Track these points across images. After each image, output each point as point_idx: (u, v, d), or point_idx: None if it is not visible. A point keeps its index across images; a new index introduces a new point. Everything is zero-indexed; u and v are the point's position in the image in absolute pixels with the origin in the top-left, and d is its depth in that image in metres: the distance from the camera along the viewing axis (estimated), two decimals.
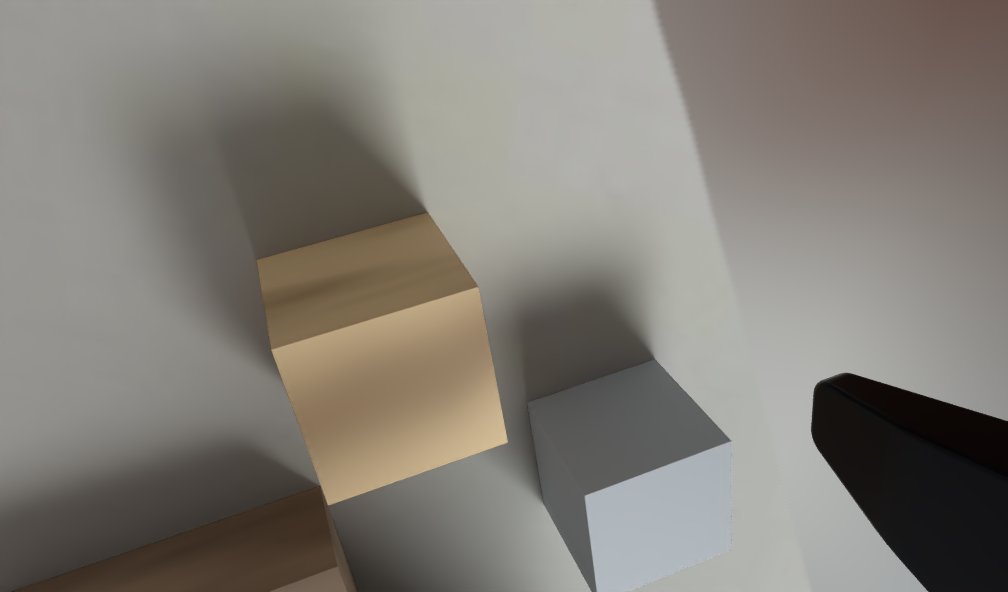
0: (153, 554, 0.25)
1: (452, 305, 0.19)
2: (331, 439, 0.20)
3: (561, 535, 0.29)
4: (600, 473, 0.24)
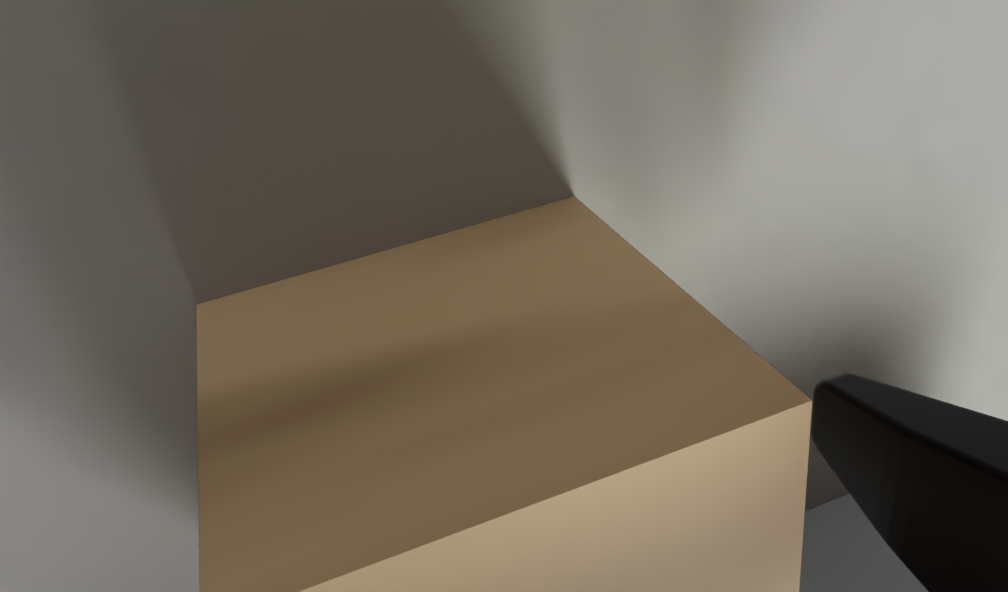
0: None
1: (736, 455, 0.07)
2: None
3: None
4: None
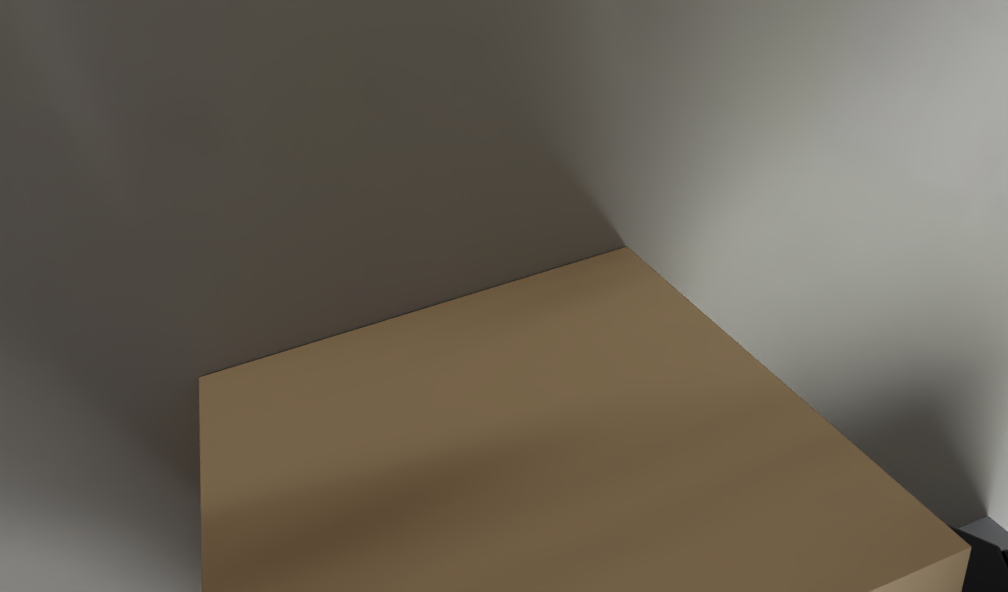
0: None
1: None
2: None
3: None
4: None
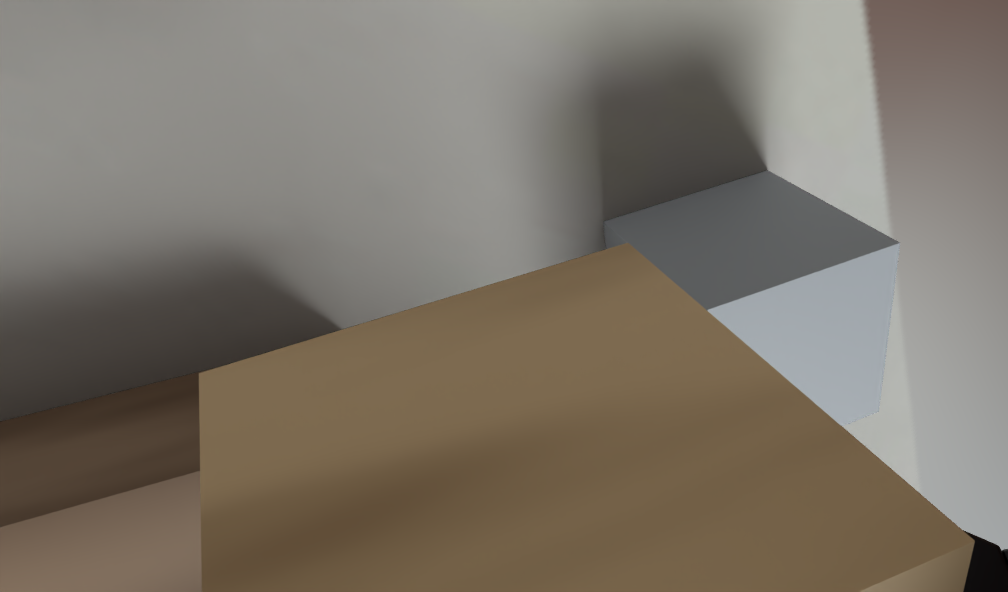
0: (120, 403, 0.18)
1: None
2: None
3: None
4: (721, 286, 0.17)
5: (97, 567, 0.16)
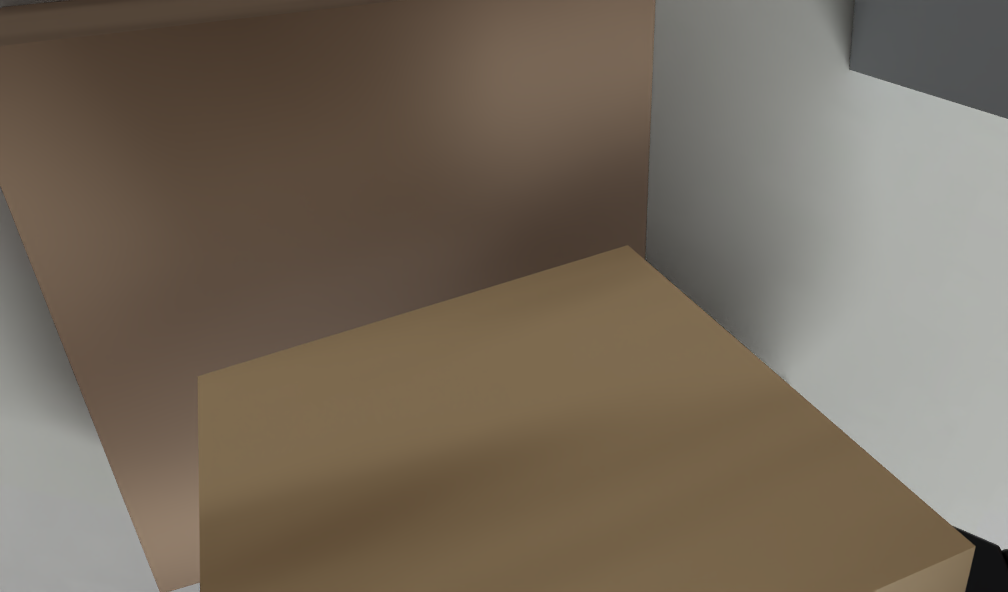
0: None
1: None
2: None
3: (904, 83, 0.18)
4: None
5: (285, 134, 0.12)
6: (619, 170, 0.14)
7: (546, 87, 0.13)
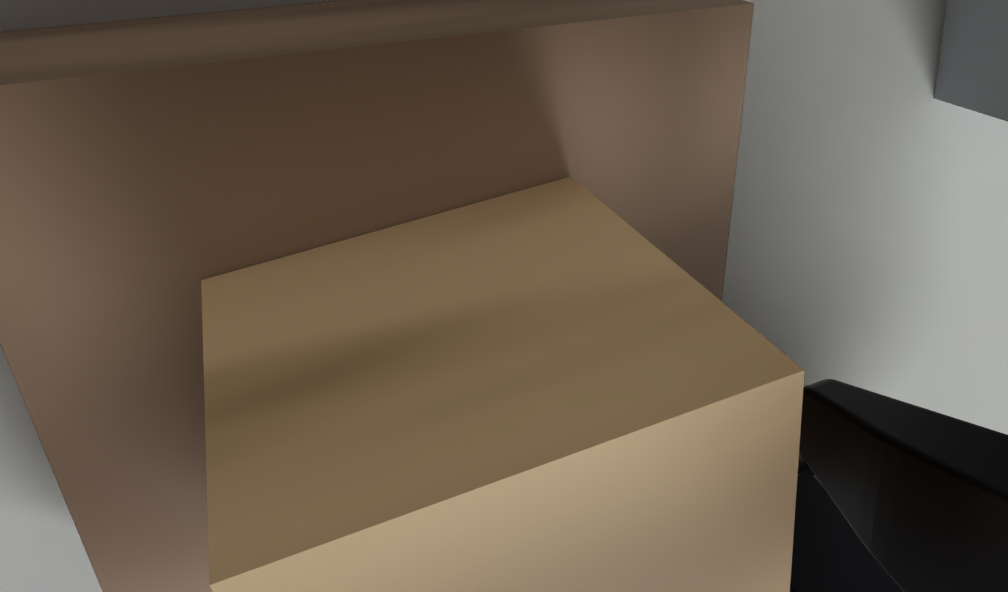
0: (319, 6, 0.12)
1: (731, 424, 0.07)
2: None
3: (1004, 116, 0.16)
4: None
5: (312, 193, 0.10)
6: (696, 231, 0.12)
7: (619, 138, 0.11)
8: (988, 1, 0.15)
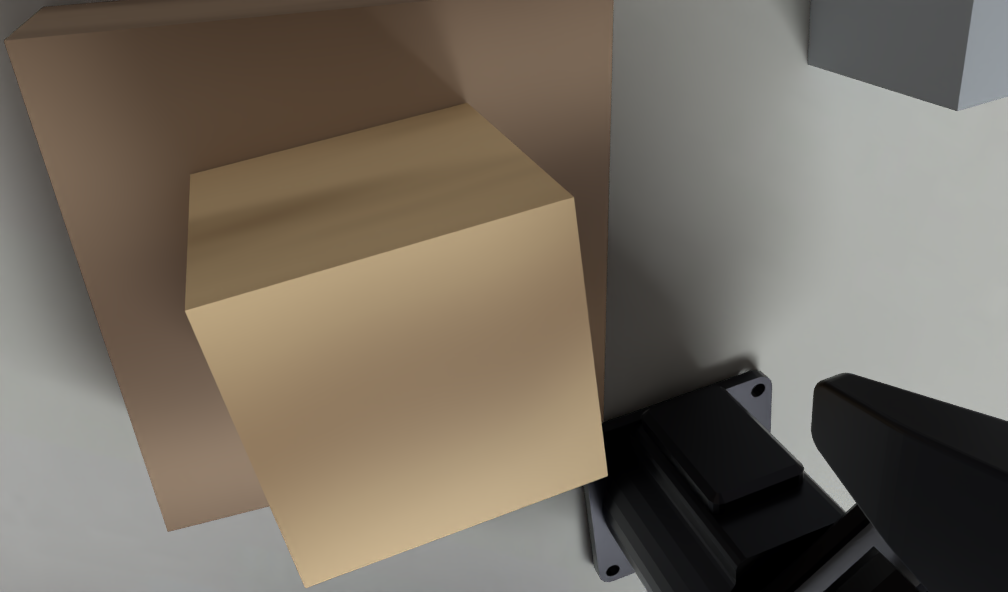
0: None
1: (526, 232, 0.10)
2: (308, 476, 0.11)
3: (854, 75, 0.19)
4: None
5: (287, 118, 0.14)
6: (583, 158, 0.16)
7: (516, 83, 0.15)
8: None
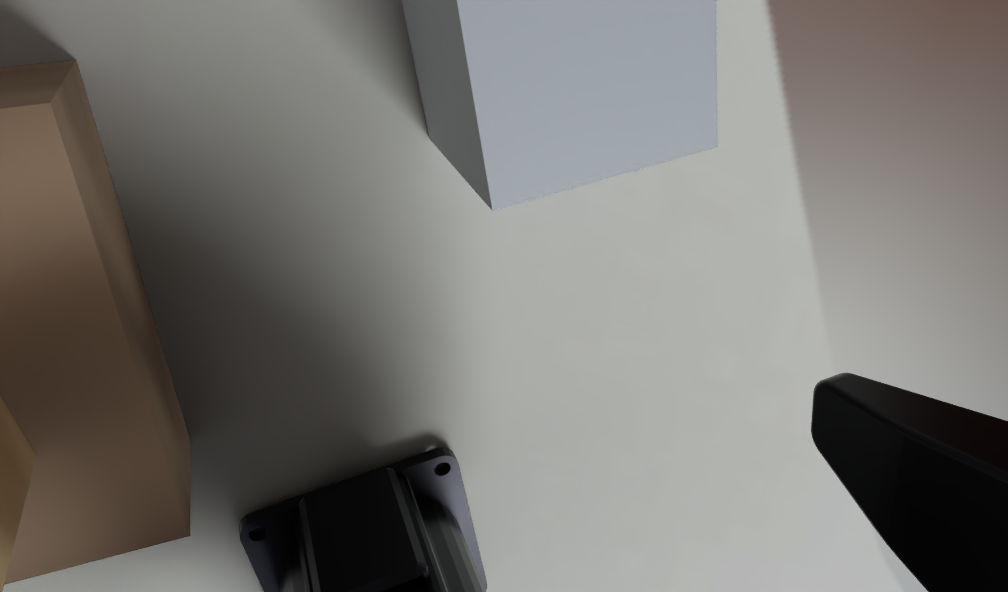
0: None
1: None
2: None
3: (448, 158, 0.18)
4: None
5: None
6: (71, 280, 0.15)
7: None
8: (421, 60, 0.18)
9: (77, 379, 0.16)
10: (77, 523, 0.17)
